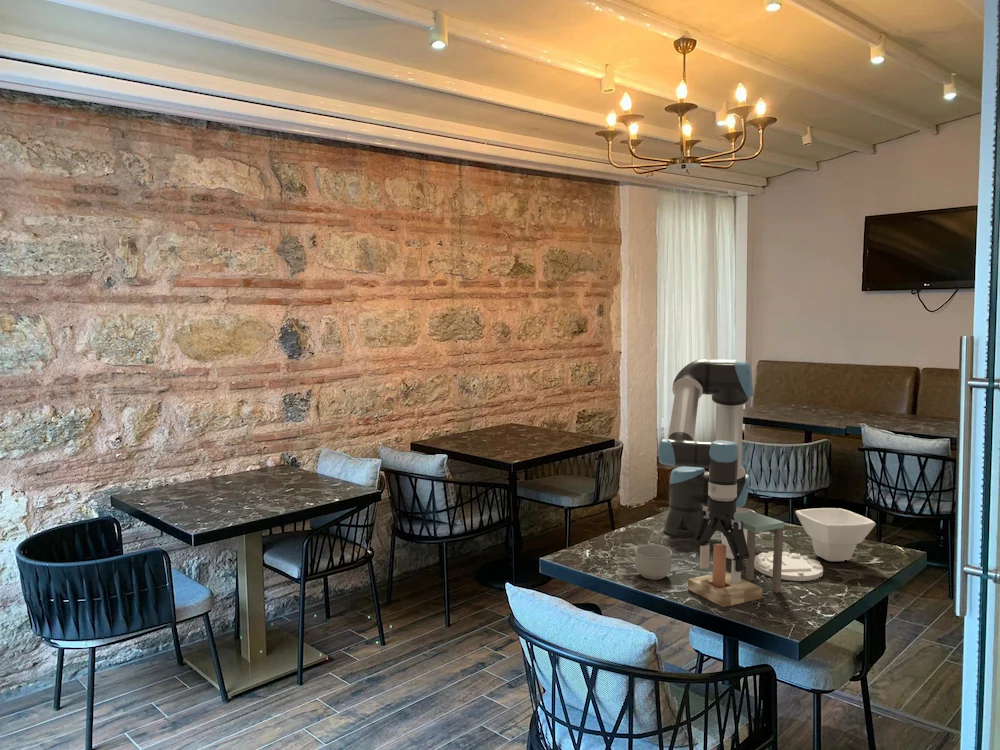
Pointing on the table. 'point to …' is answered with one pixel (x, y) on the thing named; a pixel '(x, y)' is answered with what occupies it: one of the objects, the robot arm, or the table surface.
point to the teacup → (651, 560)
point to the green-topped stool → (753, 525)
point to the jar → (723, 538)
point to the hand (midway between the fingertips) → (719, 574)
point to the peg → (719, 565)
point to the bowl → (834, 531)
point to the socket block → (725, 590)
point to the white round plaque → (790, 566)
